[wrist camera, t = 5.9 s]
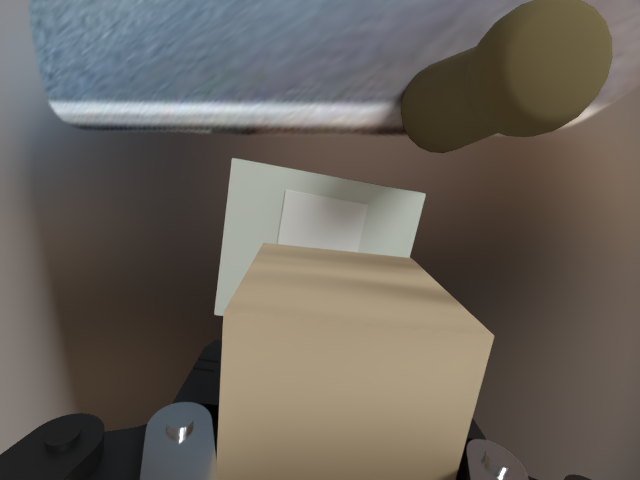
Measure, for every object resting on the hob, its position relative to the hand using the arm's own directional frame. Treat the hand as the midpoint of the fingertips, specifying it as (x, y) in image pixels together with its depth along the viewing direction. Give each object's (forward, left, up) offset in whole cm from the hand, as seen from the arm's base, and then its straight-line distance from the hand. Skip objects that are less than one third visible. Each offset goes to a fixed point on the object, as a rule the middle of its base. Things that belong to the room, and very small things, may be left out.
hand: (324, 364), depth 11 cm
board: (0, 0, -14) cm, 14 cm away
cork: (-12, +7, -14) cm, 20 cm away
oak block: (0, 0, -1) cm, 1 cm away
